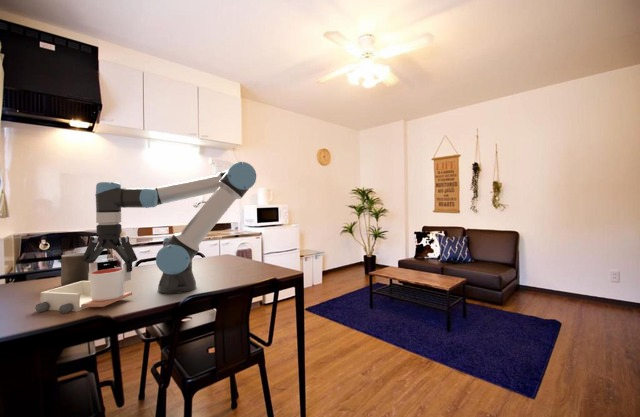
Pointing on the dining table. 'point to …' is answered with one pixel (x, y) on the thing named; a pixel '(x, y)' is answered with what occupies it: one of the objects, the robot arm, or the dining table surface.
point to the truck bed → (66, 298)
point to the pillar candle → (73, 269)
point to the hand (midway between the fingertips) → (110, 280)
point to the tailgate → (107, 302)
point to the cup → (106, 284)
